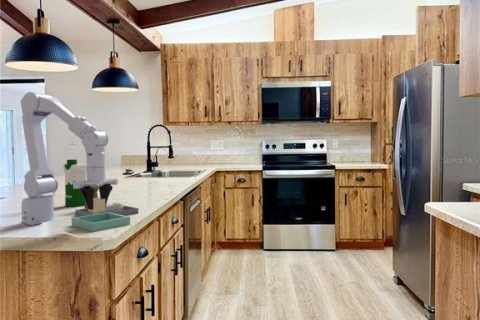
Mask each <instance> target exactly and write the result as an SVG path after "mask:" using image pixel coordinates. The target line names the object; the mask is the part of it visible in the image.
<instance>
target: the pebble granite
mask: <svg viewBox="0 0 480 320" xmlns="http://www.w3.org/2000/svg"><path fill="white" fill-rule="evenodd" d="M111 205H115V212H116V211H122V210H123V205H124V202H122V201H121V202H113V203H112V204H111Z"/></svg>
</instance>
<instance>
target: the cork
mask: <svg viewBox="0 0 480 320" xmlns="http://www.w3.org/2000/svg"><path fill="white" fill-rule="evenodd" d="M92 185H98V184H92ZM98 187H99V186H95V187H91V188H92V189H94V195H93V199H94V198H99V196H98V191H99V188H98ZM83 207H84V208H83V209H85V208H88V207H87V204H86V201H85V206H83Z"/></svg>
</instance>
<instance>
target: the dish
mask: <svg viewBox="0 0 480 320" xmlns="http://www.w3.org/2000/svg"><path fill="white" fill-rule="evenodd" d="M70 220H71V226H72V227H74V228H75V227H76V228H79V229H83V230H86V231H89V232H93V233H94V232H98V231H103V230H107V229H113V228H117V227H119V228H120V227H123V226H128V225H131V216H129V215H126V216H124V215H119V214H115V213H110V212H106V213H100V214H94V215H87V216H75V217H72V218H71V219H70Z"/></svg>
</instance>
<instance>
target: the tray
mask: <svg viewBox="0 0 480 320" xmlns="http://www.w3.org/2000/svg"><path fill="white" fill-rule="evenodd" d="M74 213H75V216H76V217H81V216H87V215H94V214H99V212H96V213H93V212H89V211H88V208H85V209H84V208H81V209H75V211H74ZM110 213H115V214H119V215H124V216H130V215H136V214H137V215H138V214H139V208H138V207H134V206H127V205H124V204H123V210H122V211H116V212H110Z"/></svg>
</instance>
